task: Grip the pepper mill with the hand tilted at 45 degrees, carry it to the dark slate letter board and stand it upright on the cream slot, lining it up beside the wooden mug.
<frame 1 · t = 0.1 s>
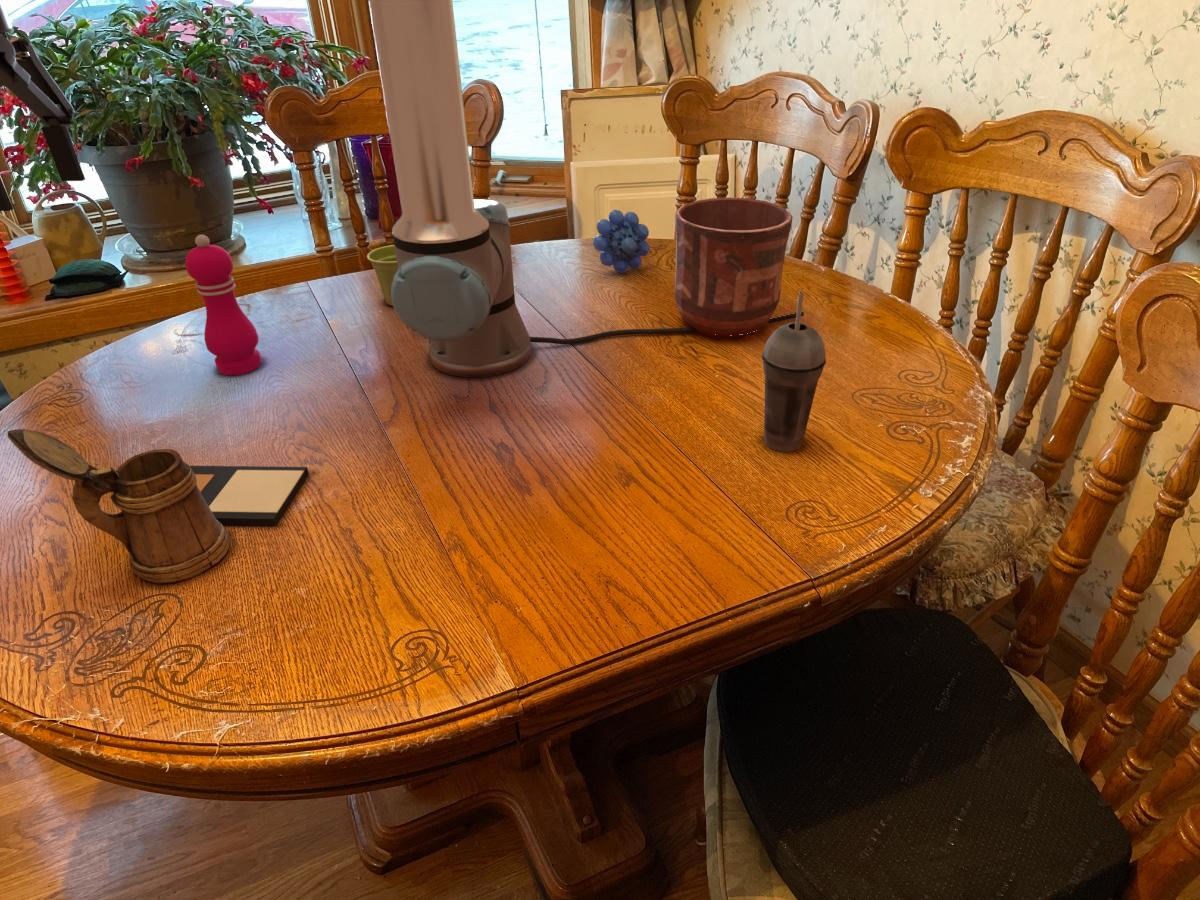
hand: (39, 194, 95), 28 cm above the table, tool pointing down, fingers open, 13 cm apart
pottery: (725, 324, 127), on the table
plant pot: (403, 301, 138), on the table
wooden mug: (160, 563, 80), on the table
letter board: (229, 497, 89), on the table
beverage cup: (782, 443, 96), on the table
blue ball flower: (624, 275, 147), on the table
pepper mill: (240, 367, 117), on the table
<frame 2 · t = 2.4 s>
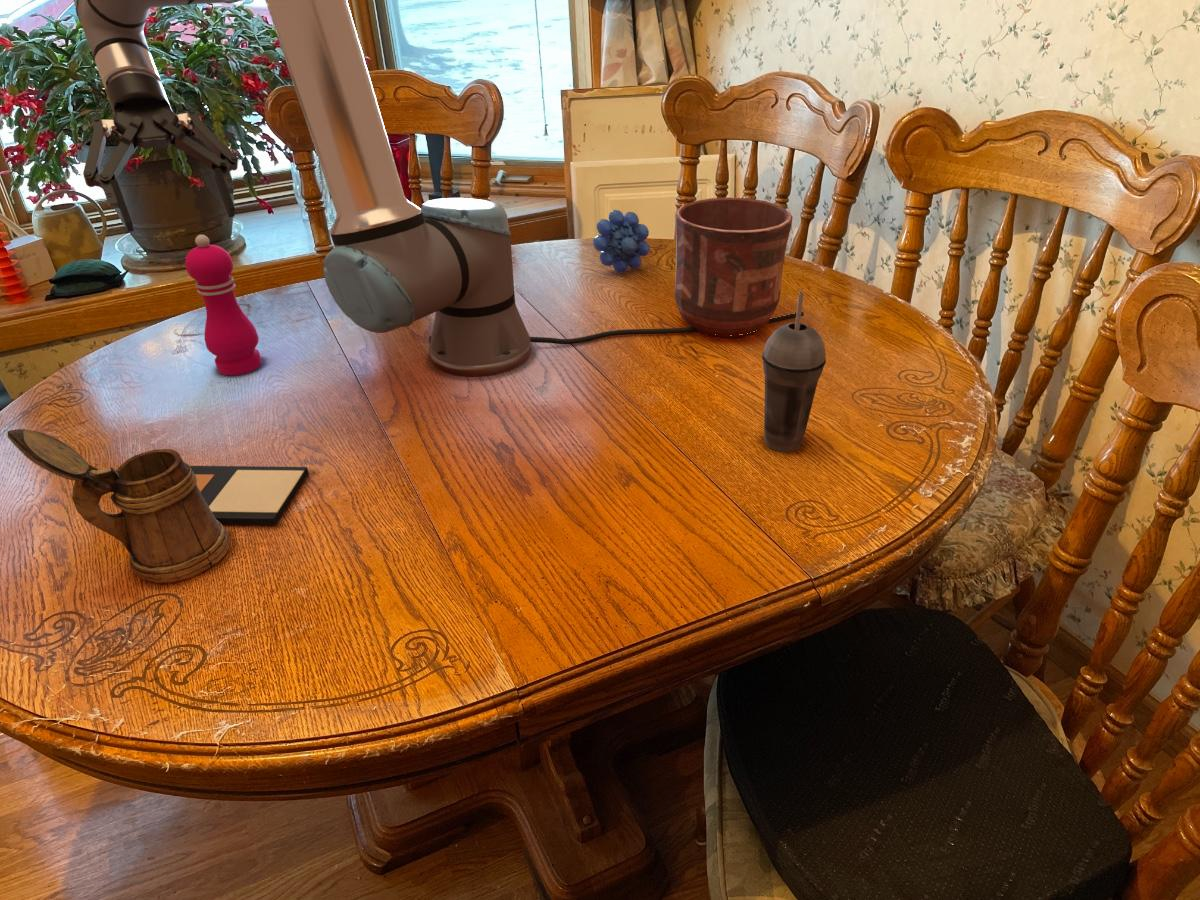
hand: (182, 220, 113), 20 cm above the table, tool tilted 40°, fingers open, 13 cm apart
nothing on the table moved.
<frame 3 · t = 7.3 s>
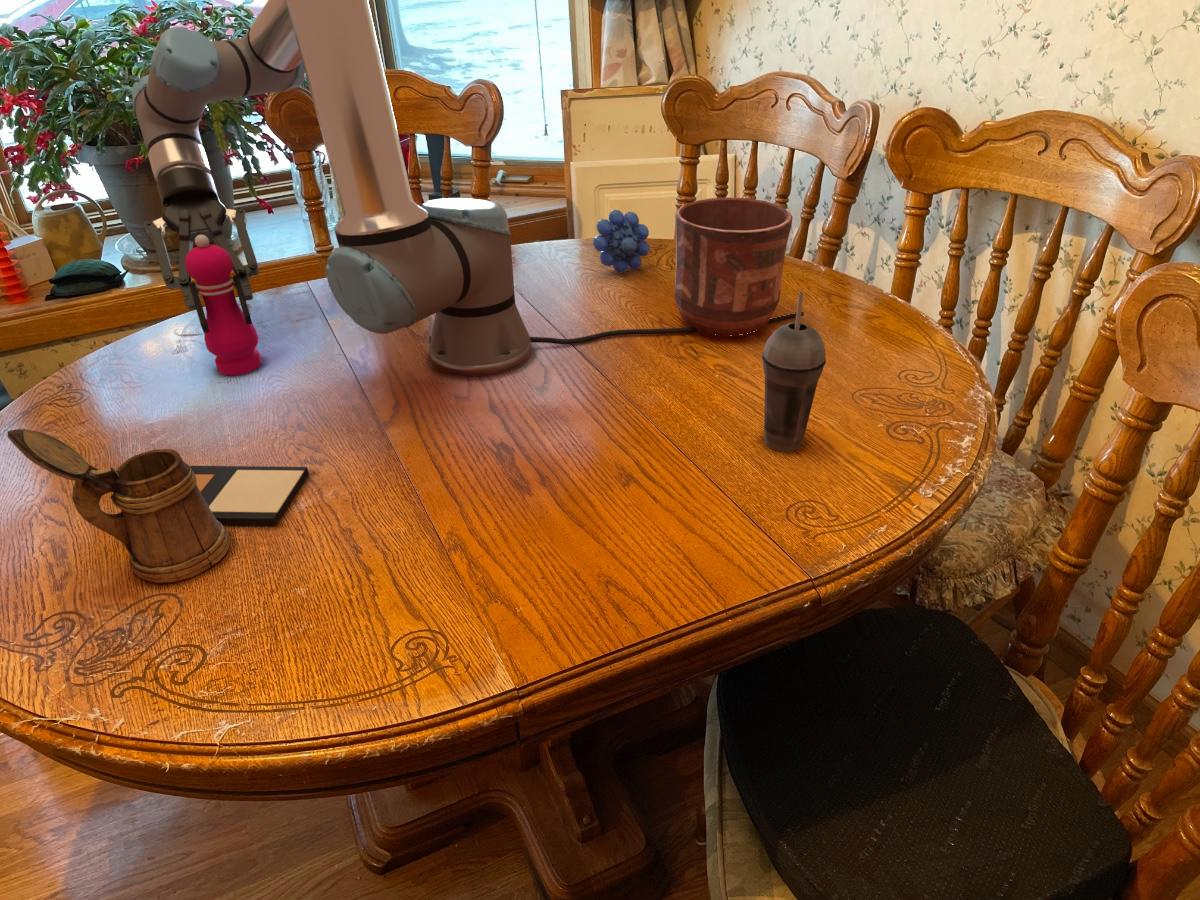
hand: (227, 324, 110), 8 cm above the table, tool tilted 45°, fingers closed on pepper mill, 5 cm apart
pepper mill: (240, 367, 117), on the table, touching gripper
everything else where it was.
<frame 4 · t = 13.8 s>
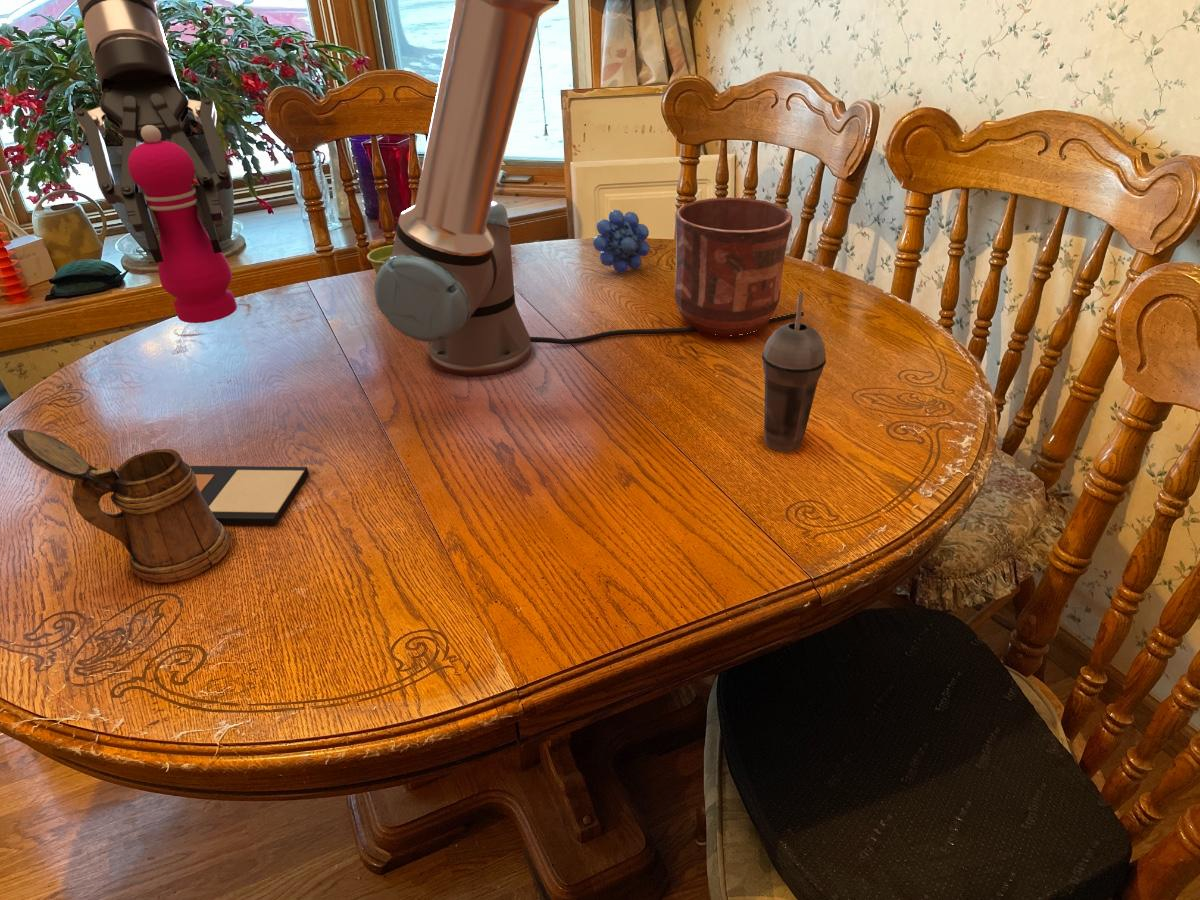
hand: (186, 250, 81), 26 cm above the table, tool tilted 45°, fingers closed on pepper mill, 5 cm apart
pepper mill: (208, 314, 88), point 18 cm above the table, touching gripper
everything else where it was.
when the fingers open (9 cm above the table, at t = 20.2 s): pepper mill stays where it is, resting on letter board.
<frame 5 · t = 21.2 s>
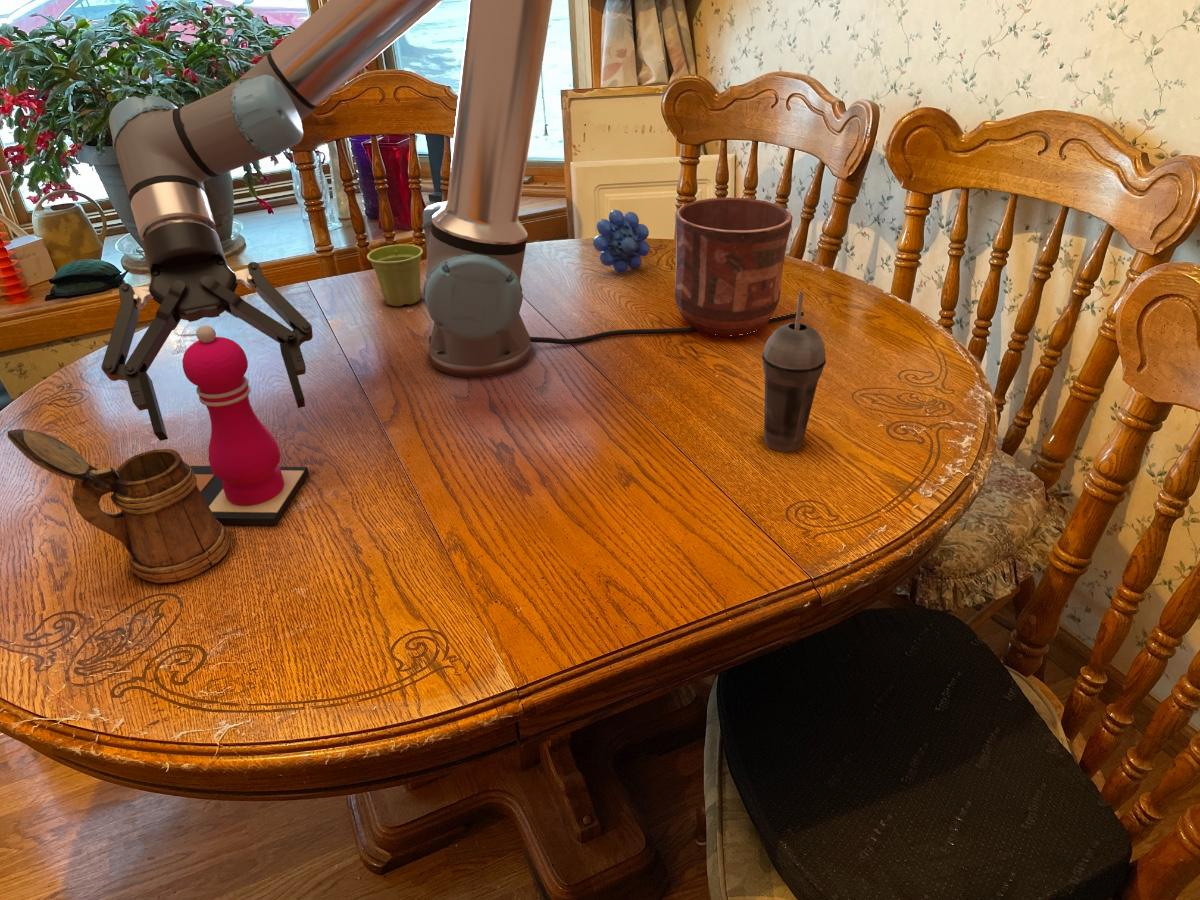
hand: (233, 419, 81), 12 cm above the table, tool tilted 45°, fingers open, 13 cm apart
pepper mill: (256, 491, 88), point 1 cm above the table, touching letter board
everything else where it was.
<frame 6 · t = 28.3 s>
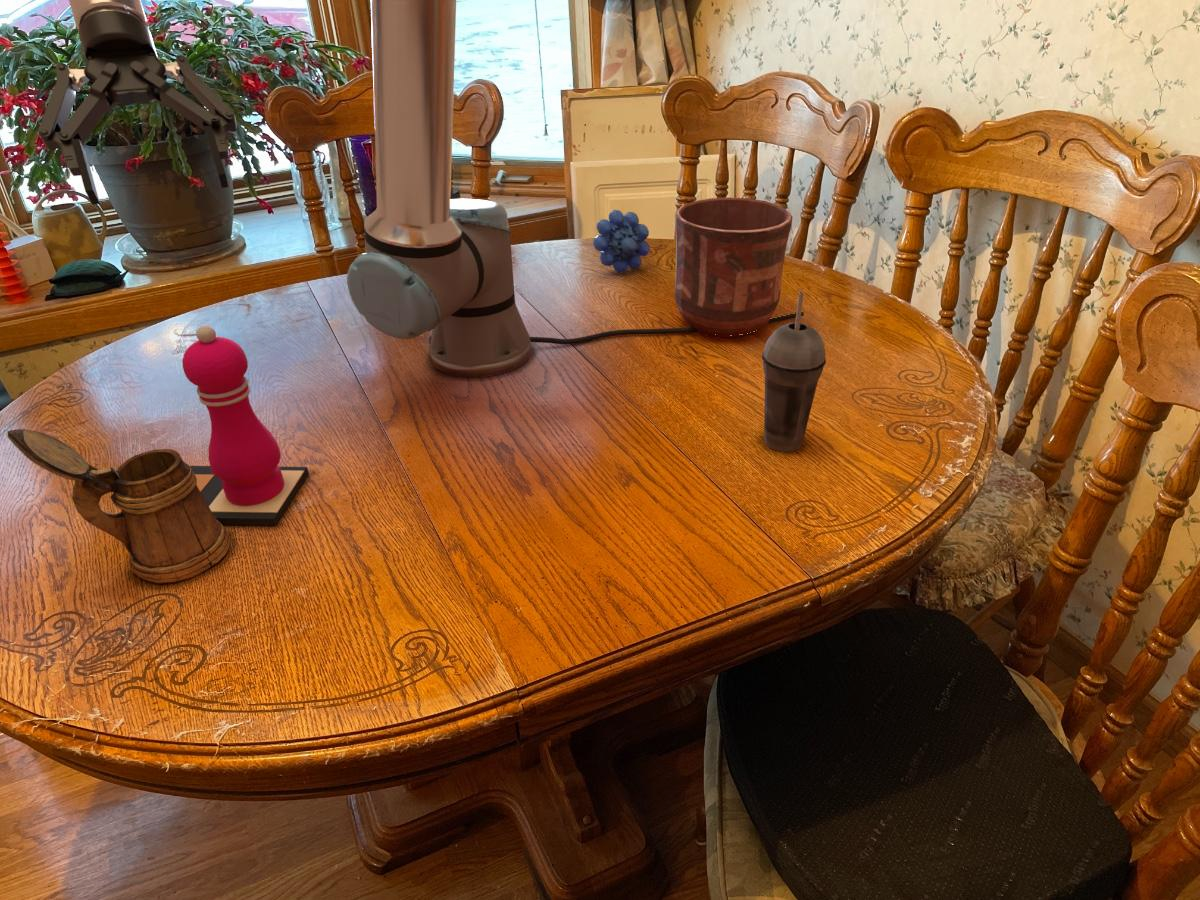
hand: (160, 189, 89), 30 cm above the table, tool tilted 45°, fingers open, 13 cm apart
nothing on the table moved.
at the end: pepper mill 0.1 cm from the target spot on the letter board, point 0.9 cm above the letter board's base; pepper mill tilted 0°; the gripper is holding nothing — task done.
